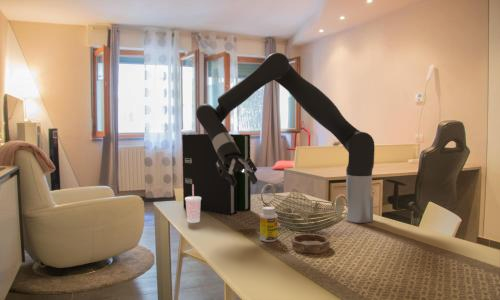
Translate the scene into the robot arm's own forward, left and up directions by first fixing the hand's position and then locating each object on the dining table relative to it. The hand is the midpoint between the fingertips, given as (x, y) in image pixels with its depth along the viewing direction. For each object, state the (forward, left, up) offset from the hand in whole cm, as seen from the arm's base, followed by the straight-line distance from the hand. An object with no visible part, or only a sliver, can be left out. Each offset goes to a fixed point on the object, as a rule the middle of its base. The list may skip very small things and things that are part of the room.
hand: (245, 184), depth 130 cm
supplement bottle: (-8, +9, -17) cm, 20 cm away
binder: (+14, -36, -17) cm, 42 cm away
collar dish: (-20, +17, -16) cm, 31 cm away
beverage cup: (+20, -14, -17) cm, 30 cm away
